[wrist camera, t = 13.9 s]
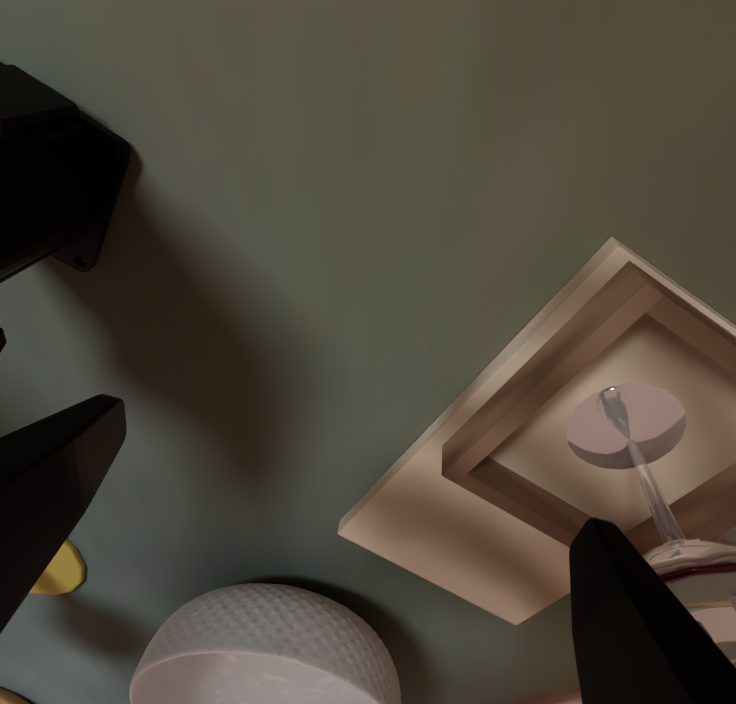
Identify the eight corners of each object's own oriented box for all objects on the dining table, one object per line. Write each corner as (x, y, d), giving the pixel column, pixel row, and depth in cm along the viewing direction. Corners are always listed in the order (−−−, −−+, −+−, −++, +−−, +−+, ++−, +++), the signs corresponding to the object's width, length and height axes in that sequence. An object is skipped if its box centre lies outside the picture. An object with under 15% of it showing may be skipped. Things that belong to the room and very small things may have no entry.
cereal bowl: (333, 699, 43) (315, 807, 37) (149, 618, 40) (96, 722, 34) (457, 614, 34) (459, 739, 28) (233, 502, 31) (181, 614, 25)
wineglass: (669, 494, 24) (822, 818, 14) (527, 469, 25) (580, 768, 15) (741, 380, 21) (1014, 709, 11) (573, 353, 21) (685, 645, 11)
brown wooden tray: (514, 610, 33) (519, 658, 30) (340, 519, 30) (330, 564, 28) (842, 402, 22) (893, 451, 19) (611, 236, 19) (635, 267, 17)
